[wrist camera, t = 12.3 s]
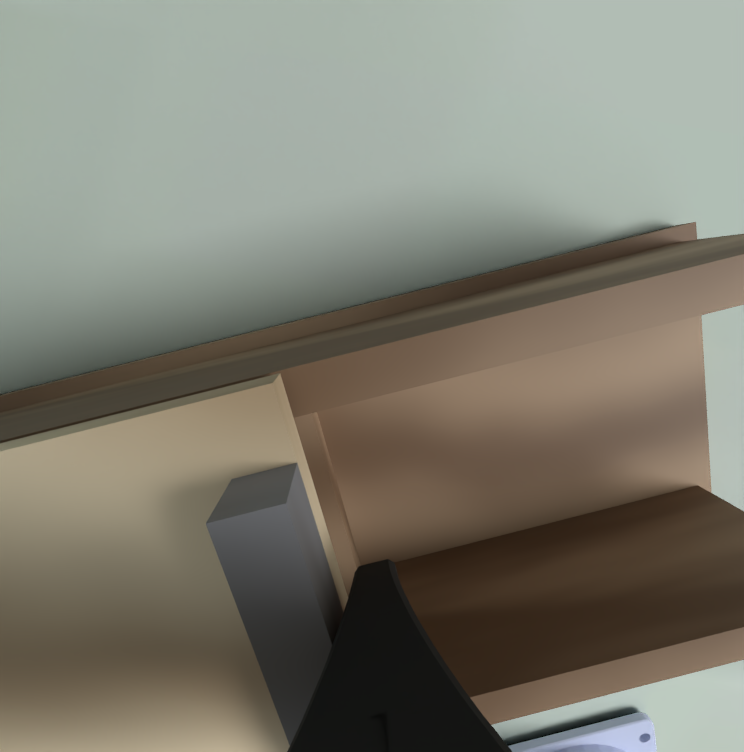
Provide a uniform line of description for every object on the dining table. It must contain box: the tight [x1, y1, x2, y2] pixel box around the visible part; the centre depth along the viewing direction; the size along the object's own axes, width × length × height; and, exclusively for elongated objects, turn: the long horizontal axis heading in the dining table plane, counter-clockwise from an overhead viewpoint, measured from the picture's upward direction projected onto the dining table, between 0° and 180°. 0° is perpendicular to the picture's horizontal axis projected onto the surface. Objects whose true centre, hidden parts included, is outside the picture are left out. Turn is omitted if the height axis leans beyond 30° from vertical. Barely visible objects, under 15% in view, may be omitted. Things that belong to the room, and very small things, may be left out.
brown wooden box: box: [0, 222, 744, 725], centre depth 12 cm, size 11×24×6 cm, turn 104°
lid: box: [0, 373, 348, 752], centre depth 8 cm, size 10×11×2 cm
